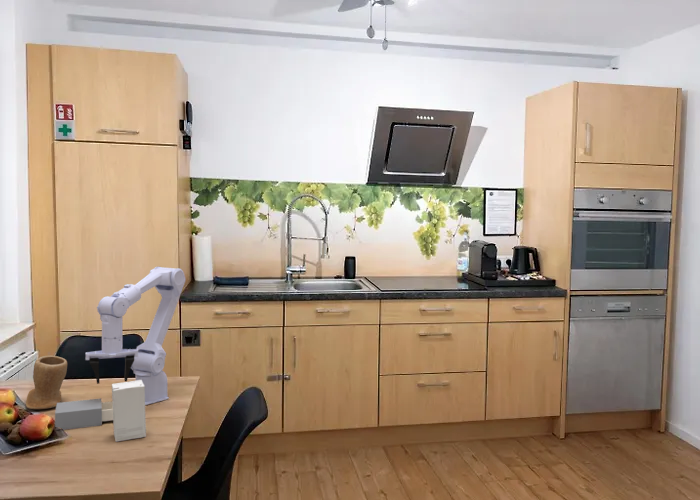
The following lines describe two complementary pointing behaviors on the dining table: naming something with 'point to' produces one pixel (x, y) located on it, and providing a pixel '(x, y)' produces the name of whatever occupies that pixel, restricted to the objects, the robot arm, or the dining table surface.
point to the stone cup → (47, 382)
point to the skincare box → (129, 410)
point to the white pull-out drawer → (107, 411)
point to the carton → (78, 414)
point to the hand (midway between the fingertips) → (112, 381)
